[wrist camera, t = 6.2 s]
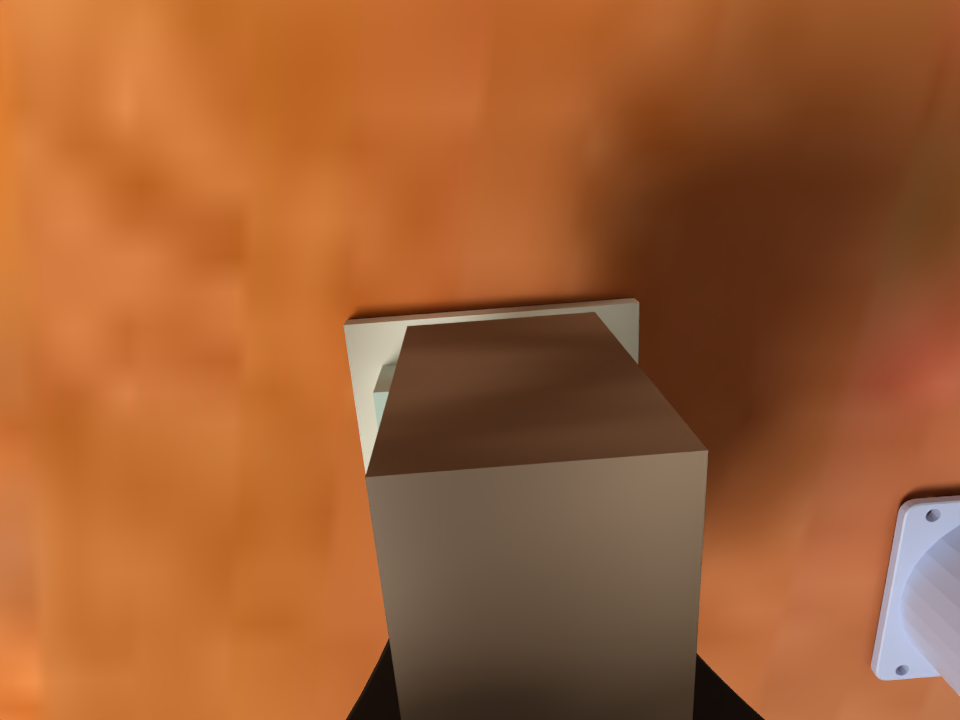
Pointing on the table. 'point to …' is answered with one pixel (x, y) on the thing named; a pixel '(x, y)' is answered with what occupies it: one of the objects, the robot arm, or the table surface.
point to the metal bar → (536, 526)
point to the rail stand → (382, 337)
